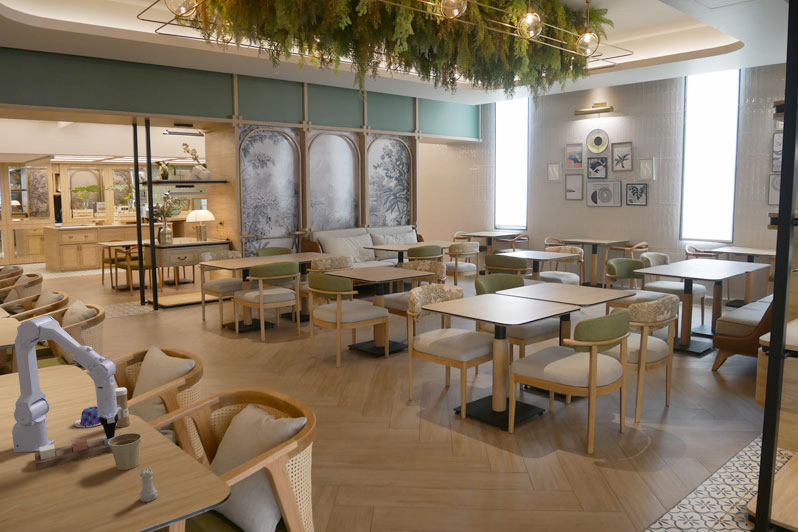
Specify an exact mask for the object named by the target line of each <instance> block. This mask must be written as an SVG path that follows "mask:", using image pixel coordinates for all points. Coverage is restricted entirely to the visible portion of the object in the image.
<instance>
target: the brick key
mask: <svg viewBox="0 0 798 532" xmlns="http://www.w3.org/2000/svg"><path fill="white" fill-rule="evenodd" d="M87 442H88V441H87V438H86V436H85V437H80V438H75V439H72V440H71V445H72V447H73V452H77V451H81V450H86V449H88V447H87Z"/></svg>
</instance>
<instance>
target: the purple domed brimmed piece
mask: <svg viewBox="0 0 798 532" xmlns="http://www.w3.org/2000/svg"><path fill="white" fill-rule="evenodd" d="M97 412H98V407H97V405H95V406H89V407H86V408H84V409H82V411H81V416H80V419H77V420H76V421H74V423H73V425H74V426H75V427H77V428H91V427H95V426H99V425H102V424H101V423H100V421H99V419H98V418H99V417H101V416H98V414H97ZM80 421H81V422H80ZM79 422H80V425H81V426H80V425H79V424H78V423H79ZM92 425H93V426H92ZM85 426H86V427H85Z"/></svg>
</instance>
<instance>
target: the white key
mask: <svg viewBox="0 0 798 532" xmlns="http://www.w3.org/2000/svg"><path fill="white" fill-rule="evenodd" d="M55 447H56V446H55V444H53V443H51V444H50V445H48V446H43V447H39V448H40V451H39V452H40V457H41V460H42V459H47V458H51V457H55V456H56V455H55V449H56V448H55Z"/></svg>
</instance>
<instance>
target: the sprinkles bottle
mask: <svg viewBox="0 0 798 532" xmlns="http://www.w3.org/2000/svg"><path fill="white" fill-rule="evenodd" d="M115 391H116V401H117V408H118V407H121V411H118V412H117V414H118V417H119V418H118V421H117V423H116V427H117V428H125V427H128V426H130V424H131V422H130V413H129V410H130V409H129V403H128V395H127V394H128V389H127V388H126V387H118V388H117V387H115Z"/></svg>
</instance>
